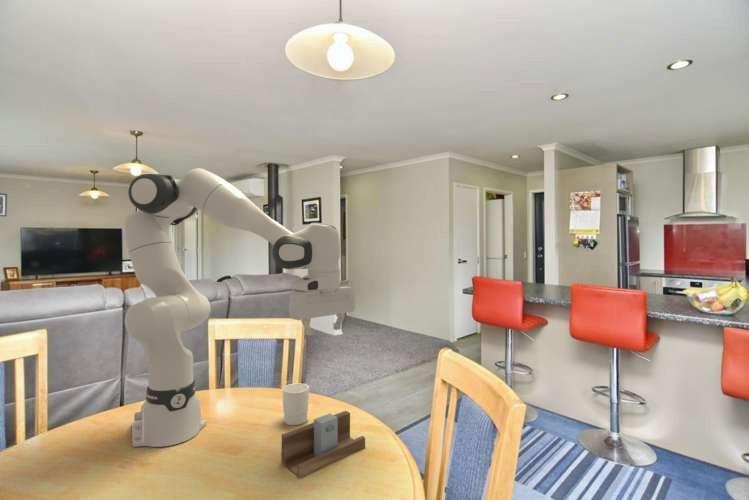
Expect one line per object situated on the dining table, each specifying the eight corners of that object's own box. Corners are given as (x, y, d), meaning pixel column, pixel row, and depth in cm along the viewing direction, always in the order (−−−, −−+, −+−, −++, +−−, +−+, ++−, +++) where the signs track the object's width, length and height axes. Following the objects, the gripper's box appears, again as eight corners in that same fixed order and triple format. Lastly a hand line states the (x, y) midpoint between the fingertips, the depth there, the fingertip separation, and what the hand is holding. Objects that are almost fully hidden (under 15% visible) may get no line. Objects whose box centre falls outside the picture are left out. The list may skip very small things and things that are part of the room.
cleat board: (281, 463, 94) (281, 434, 94) (345, 435, 108) (345, 410, 108) (300, 477, 88) (300, 447, 88) (365, 446, 102) (365, 420, 102)
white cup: (303, 427, 113) (303, 393, 113) (277, 425, 114) (277, 391, 114) (312, 416, 120) (312, 384, 120) (288, 413, 122) (289, 382, 122)
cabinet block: (313, 454, 97) (313, 419, 97) (329, 447, 101) (329, 413, 101) (323, 461, 95) (323, 424, 94) (339, 453, 98) (339, 418, 98)
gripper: (345, 279, 116) (345, 325, 116) (285, 283, 102) (285, 335, 102) (359, 280, 112) (359, 328, 112) (298, 285, 98) (298, 340, 98)
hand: (323, 332), depth 107 cm, fingers open, 8 cm apart
